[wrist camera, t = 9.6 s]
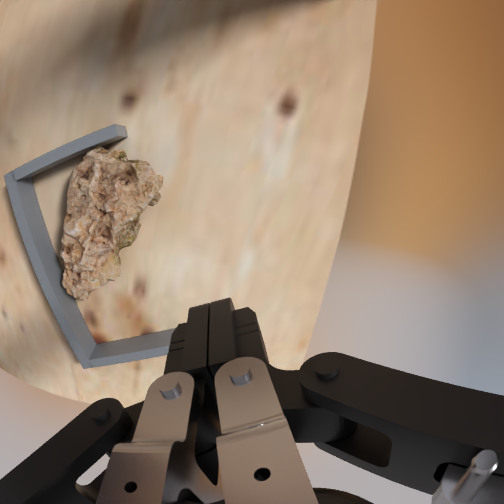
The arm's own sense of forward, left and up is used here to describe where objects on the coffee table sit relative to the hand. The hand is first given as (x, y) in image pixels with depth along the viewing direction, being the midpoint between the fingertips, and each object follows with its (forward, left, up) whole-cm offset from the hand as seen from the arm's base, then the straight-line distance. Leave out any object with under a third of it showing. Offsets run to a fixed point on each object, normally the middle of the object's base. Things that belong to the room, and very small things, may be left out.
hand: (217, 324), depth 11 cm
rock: (+11, -1, -23) cm, 26 cm away
